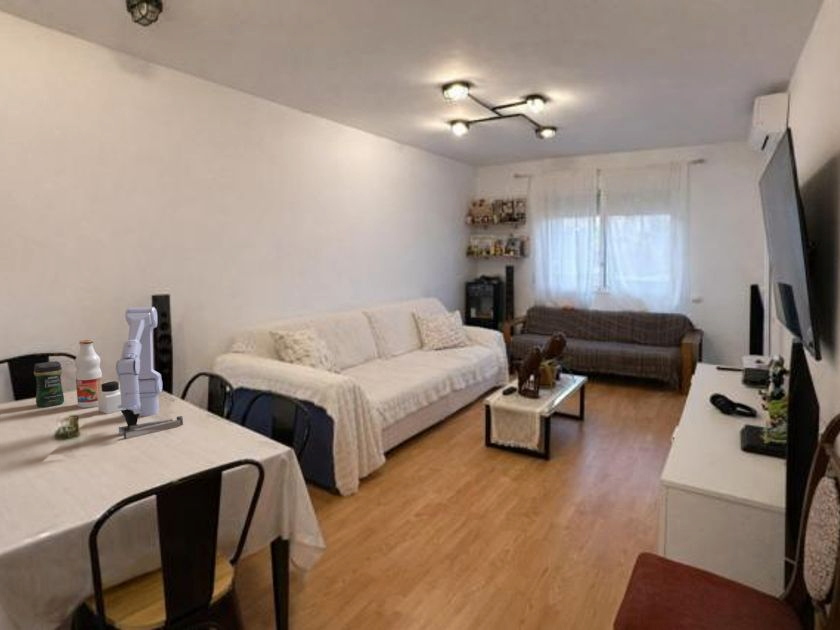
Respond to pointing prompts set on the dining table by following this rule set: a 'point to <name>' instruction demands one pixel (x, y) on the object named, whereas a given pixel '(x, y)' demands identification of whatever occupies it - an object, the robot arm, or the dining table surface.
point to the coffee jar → (48, 384)
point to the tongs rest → (154, 428)
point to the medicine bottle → (109, 398)
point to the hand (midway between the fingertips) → (132, 429)
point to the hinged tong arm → (141, 426)
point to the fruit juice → (88, 375)
